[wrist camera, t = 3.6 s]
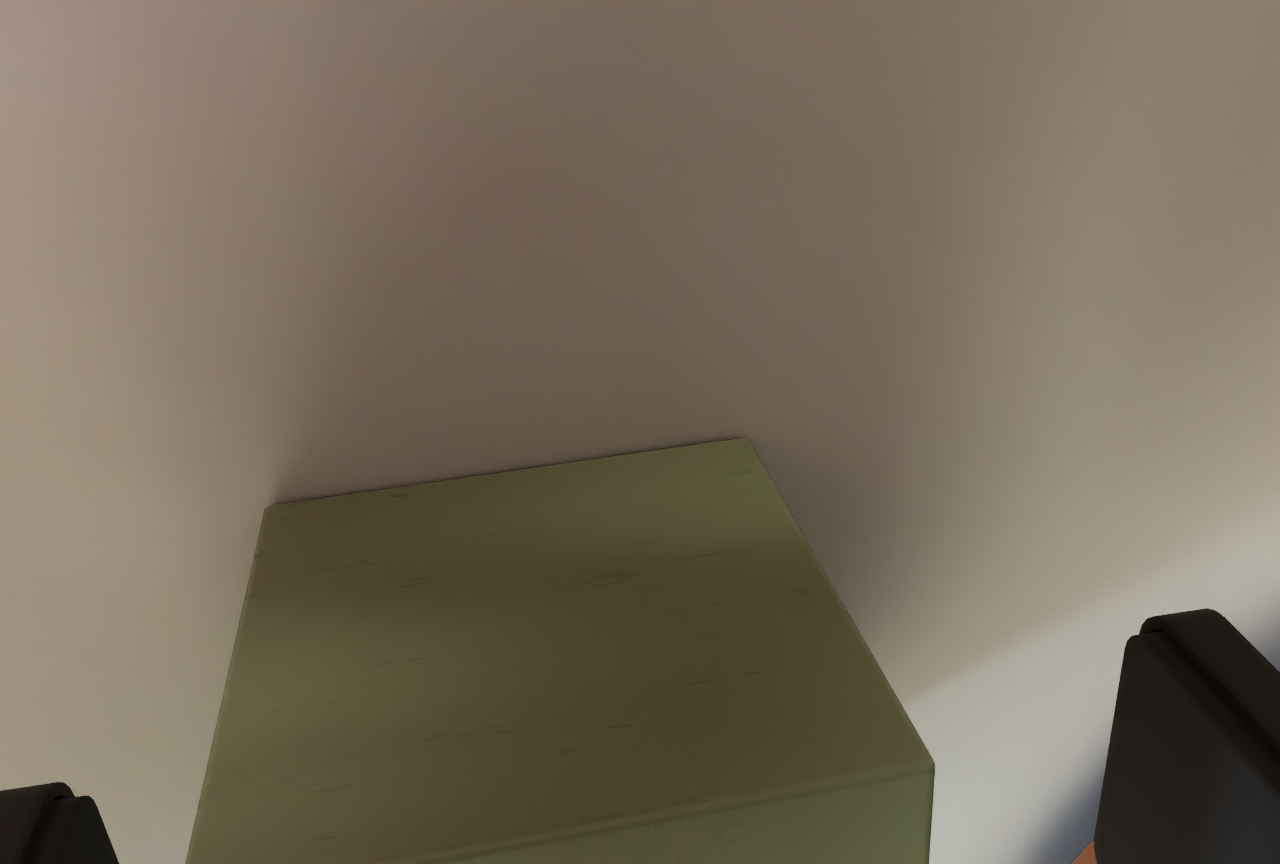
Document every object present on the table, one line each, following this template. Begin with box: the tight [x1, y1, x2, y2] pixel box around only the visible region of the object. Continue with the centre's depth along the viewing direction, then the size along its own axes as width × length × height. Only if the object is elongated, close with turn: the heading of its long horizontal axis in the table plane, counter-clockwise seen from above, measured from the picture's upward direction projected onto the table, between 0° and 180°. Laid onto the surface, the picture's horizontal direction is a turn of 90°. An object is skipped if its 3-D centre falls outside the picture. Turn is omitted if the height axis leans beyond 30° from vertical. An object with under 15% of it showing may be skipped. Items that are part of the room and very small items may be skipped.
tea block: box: [185, 438, 935, 864], centre depth 11 cm, size 5×5×5 cm
